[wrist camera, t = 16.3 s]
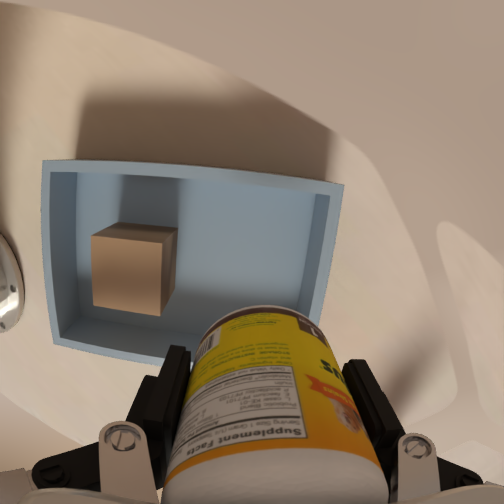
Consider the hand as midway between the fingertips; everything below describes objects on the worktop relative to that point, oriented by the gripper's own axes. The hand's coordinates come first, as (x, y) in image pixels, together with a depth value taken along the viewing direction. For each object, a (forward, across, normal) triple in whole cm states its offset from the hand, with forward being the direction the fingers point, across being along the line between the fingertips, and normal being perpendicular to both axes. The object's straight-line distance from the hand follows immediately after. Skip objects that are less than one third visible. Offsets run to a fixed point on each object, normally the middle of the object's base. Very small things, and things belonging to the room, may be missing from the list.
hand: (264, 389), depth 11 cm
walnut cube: (+15, +9, 0) cm, 17 cm away
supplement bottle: (+2, 0, 0) cm, 2 cm away
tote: (+15, +6, 0) cm, 16 cm away
